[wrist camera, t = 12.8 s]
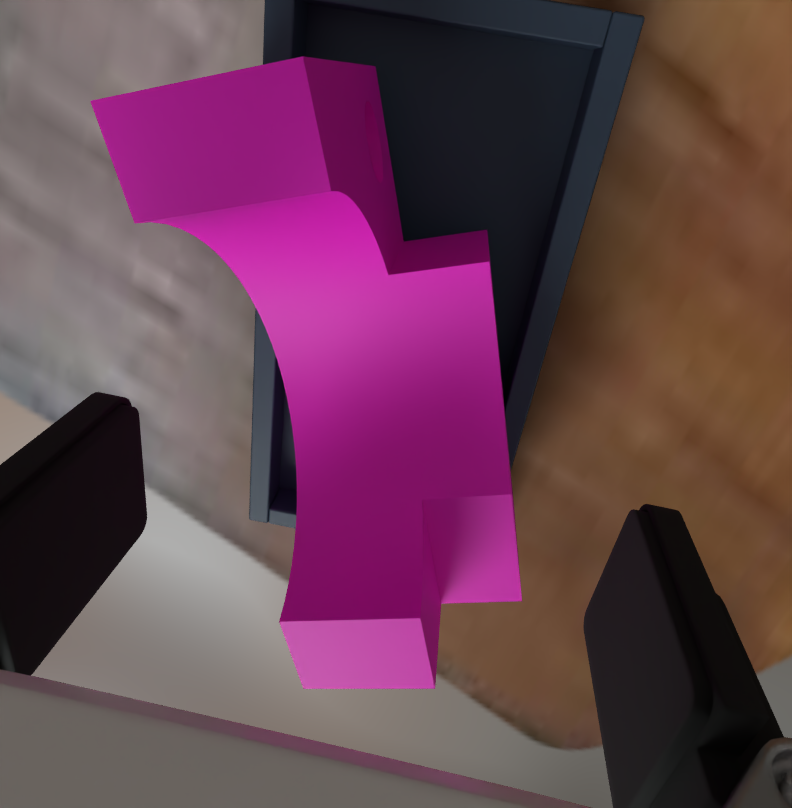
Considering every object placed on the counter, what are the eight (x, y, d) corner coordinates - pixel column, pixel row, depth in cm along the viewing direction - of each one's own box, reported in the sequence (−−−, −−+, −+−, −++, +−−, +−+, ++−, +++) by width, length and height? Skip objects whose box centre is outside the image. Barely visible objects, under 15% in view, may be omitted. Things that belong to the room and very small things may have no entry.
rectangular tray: (628, 22, 16) (646, 16, 15) (482, 532, 25) (482, 565, 24) (287, -33, 17) (265, -47, 15) (263, 490, 26) (248, 520, 24)
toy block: (513, 508, 22) (529, 688, 16) (352, 518, 23) (303, 688, 17) (469, 46, 15) (463, 22, 9) (243, 92, 16) (90, 100, 10)
